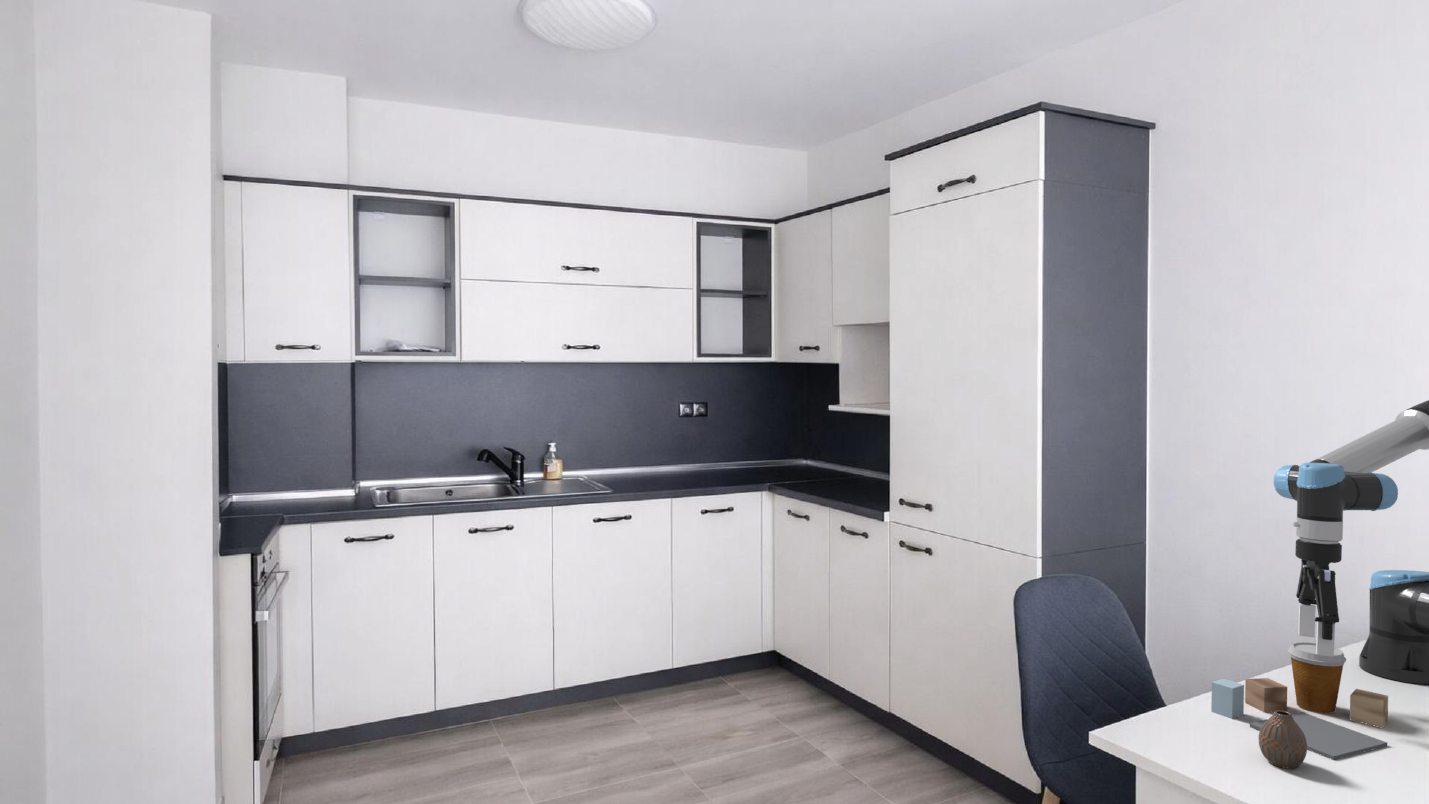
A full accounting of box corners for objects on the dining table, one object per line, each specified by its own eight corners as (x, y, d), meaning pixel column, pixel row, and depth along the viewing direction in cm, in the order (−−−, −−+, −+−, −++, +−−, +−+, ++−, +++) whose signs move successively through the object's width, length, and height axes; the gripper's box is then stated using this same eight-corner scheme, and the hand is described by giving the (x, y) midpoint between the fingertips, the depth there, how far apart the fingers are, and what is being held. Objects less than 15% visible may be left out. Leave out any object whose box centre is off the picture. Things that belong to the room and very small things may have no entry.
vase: (1316, 769, 141) (1317, 718, 141) (1285, 774, 139) (1286, 722, 139) (1278, 752, 148) (1279, 703, 148) (1248, 757, 146) (1249, 707, 146)
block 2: (1267, 702, 171) (1267, 678, 171) (1286, 711, 166) (1287, 686, 166) (1245, 703, 171) (1245, 679, 171) (1264, 712, 166) (1264, 687, 166)
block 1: (1243, 715, 165) (1222, 708, 168) (1244, 684, 164) (1223, 678, 168) (1232, 719, 163) (1211, 711, 166) (1232, 688, 162) (1211, 682, 166)
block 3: (1355, 713, 165) (1356, 688, 165) (1387, 721, 162) (1388, 695, 162) (1349, 720, 162) (1350, 694, 162) (1382, 728, 158) (1382, 702, 158)
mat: (1301, 715, 164) (1301, 712, 164) (1387, 745, 150) (1387, 742, 150) (1249, 726, 159) (1249, 723, 159) (1333, 759, 145) (1333, 756, 145)
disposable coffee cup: (1355, 718, 163) (1356, 657, 162) (1300, 714, 164) (1301, 654, 164) (1329, 700, 172) (1331, 642, 172) (1278, 697, 174) (1279, 639, 174)
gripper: (1281, 529, 180) (1278, 626, 181) (1312, 549, 157) (1309, 661, 158) (1323, 532, 177) (1320, 631, 178) (1361, 553, 154) (1357, 666, 155)
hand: (1315, 645), depth 168 cm, fingers open, 13 cm apart
